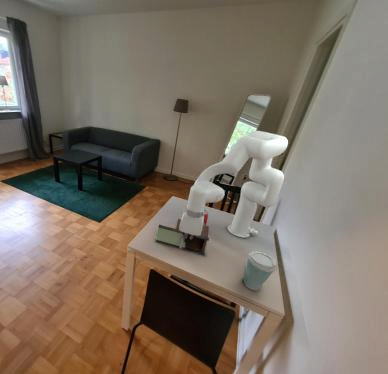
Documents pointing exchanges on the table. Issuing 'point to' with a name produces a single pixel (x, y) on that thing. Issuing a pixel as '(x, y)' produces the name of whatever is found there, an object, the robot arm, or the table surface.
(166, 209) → the table surface
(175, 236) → the pale green block
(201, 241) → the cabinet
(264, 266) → the disposable coffee cup
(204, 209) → the soda can
